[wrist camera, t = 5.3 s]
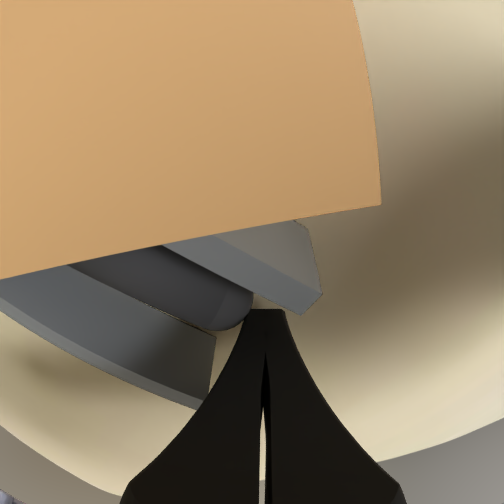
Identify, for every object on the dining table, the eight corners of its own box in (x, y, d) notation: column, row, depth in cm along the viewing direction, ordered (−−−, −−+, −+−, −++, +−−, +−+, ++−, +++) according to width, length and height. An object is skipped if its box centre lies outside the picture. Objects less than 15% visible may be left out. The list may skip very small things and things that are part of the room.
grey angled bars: (308, 229, 10) (322, 294, 7) (207, 348, 13) (197, 410, 10) (-5, 63, 6) (-70, 80, 4) (-30, 214, 10) (-72, 253, 7)
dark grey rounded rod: (263, 264, 11) (270, 301, 9) (233, 314, 12) (233, 355, 10) (46, 162, 9) (9, 177, 7) (32, 219, 10) (-1, 242, 8)
